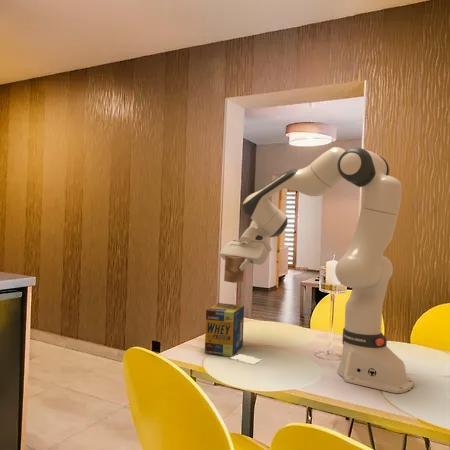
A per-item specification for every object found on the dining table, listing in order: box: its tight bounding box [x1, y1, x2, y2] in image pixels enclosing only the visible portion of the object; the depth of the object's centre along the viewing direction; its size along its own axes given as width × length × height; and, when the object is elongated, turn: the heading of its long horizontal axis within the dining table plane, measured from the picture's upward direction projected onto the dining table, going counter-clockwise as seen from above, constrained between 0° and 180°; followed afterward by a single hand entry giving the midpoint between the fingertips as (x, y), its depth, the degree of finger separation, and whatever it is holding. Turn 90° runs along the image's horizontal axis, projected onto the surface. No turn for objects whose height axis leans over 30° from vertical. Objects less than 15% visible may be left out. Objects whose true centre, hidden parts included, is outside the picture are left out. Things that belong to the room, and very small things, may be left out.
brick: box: [223, 257, 245, 284], centre depth 152 cm, size 5×5×9 cm
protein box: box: [204, 302, 245, 357], centre depth 151 cm, size 10×15×16 cm
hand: (233, 268), depth 152 cm, fingers closed on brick, 5 cm apart
